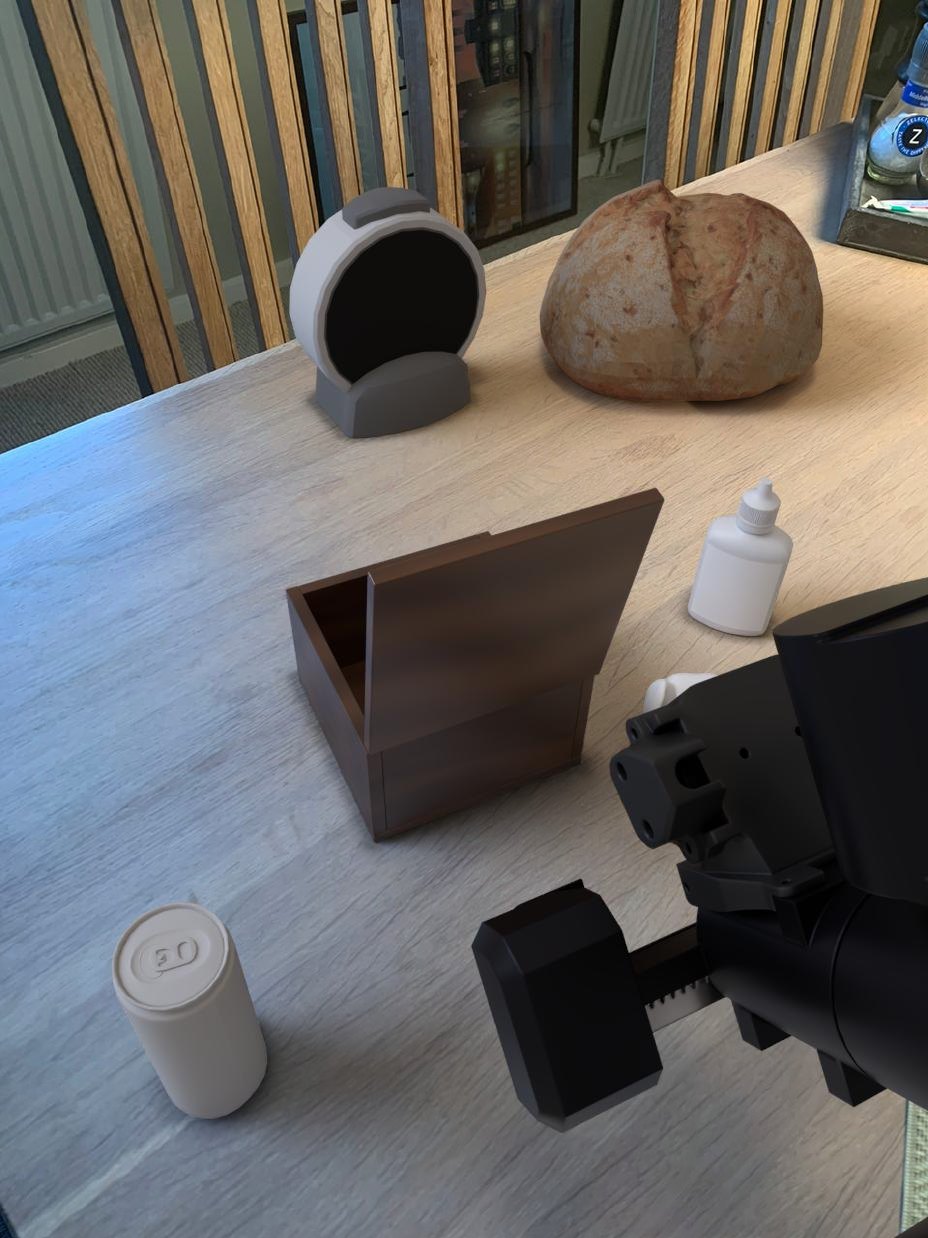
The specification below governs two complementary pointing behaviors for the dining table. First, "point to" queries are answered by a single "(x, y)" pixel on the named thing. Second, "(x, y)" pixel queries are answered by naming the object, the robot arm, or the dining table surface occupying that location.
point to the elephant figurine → (670, 689)
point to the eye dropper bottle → (742, 566)
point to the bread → (684, 298)
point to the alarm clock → (388, 312)
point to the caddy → (435, 763)
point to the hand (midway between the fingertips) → (638, 869)
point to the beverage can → (191, 1007)
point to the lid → (498, 618)
